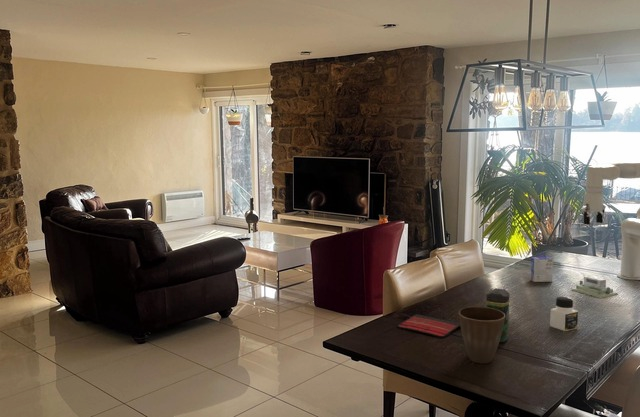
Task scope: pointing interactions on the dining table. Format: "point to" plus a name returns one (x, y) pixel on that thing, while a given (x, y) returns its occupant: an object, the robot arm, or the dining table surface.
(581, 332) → the dining table surface
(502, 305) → the coffee jar
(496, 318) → the plant pot
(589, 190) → the robot arm
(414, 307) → the dining table surface
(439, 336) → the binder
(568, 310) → the medicine bottle
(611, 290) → the tray
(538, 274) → the ink cartridge box
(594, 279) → the block
